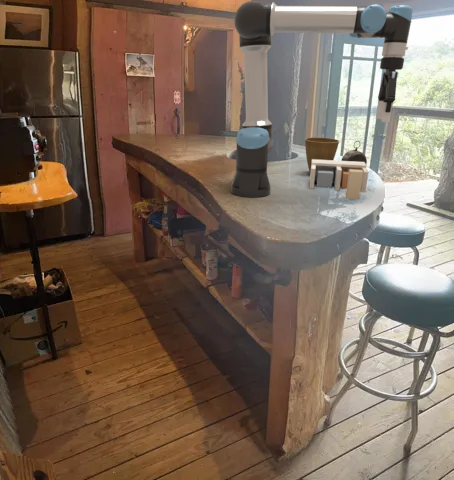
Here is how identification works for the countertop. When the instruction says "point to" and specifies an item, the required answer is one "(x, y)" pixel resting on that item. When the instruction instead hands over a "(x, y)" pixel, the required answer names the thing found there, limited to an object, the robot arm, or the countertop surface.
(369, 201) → the countertop surface
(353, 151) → the alarm clock
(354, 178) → the corded block
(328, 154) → the plant pot
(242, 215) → the countertop surface
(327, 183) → the slate block
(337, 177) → the shelf lanes
